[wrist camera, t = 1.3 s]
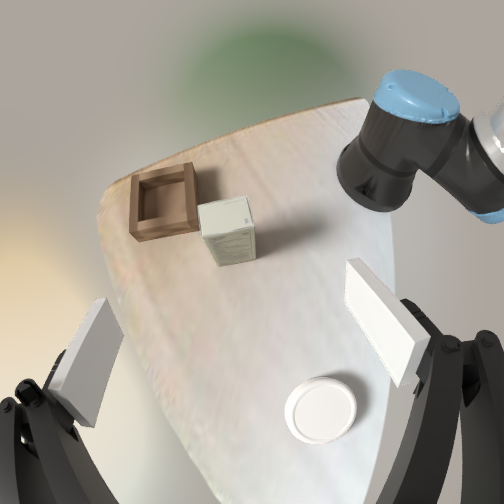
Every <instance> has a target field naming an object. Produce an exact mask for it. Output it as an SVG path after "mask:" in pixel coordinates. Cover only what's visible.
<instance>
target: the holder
mask: <svg viewBox="0 0 504 504" xmlns="http://www.w3.org/2000/svg"><path fill="white" fill-rule="evenodd" d="M198 205H199V199H198V189H197V178H196V173H195V170H194V167H193V163H192V162H190V163H185V164H180V165H175V166H171V167H166V168H162V169H157V170H153V171H149V172H145V173H141V174H137V175H133V176H132V178H131V193H130V216H129V233H130V234H131V235H132V236H133V237H134V238H135V239H136V240H137V241H138V242H142V241H147V240H152V239H157V238H162V237H167V236H173V235H178V234H183V233H189V232H194V231H200V226H199V218H198Z"/></svg>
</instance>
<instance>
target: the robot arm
mask: <svg viewBox="0 0 504 504" xmlns="http://www.w3.org/2000/svg"><path fill="white" fill-rule="evenodd" d="M459 109H460V106H459V103H458V101H457V99H456V97H455V96H454V95H453V94H452V93H451V92H449V91H448V89H447V88H446V87H445V86H444V85H442V84H441V83H439V82H437V81H436V80H434V79H432V78H430V77H428V76H426V75H423V74H421V73H418V72H415V71H410V70H393V71H390V72H388V73H386V74H385V75H384V77H383V78H382V80H381V82H380V84H379V86H378V88H377V90H376V91H375V92H374V95H373V101H372V103H371V106H370V109H369V111H368V114H367V116H366V119H365V121H364V124H363V126H362V129H361V131H360V133H359V135H358V136H357V137H356V138H355V139H354V140H353V141H352V142H351V143H350V144H348V145H347V146H346V147H345V148H344V149H343V151H342V152H341V154H340V157H339V159H338V162H337V168H336V169H337V176H338V179H339V182H340V184H341V186H342V187H343V189H344V190H345V192H346V193H347V194H348V195H349V196H350V197H351V198H352V199H353V200H354V201H356V202H357V203H358V204H360V205H362V206H363V207H366V208H368V209H370V210H373V211H378V212H390V211H393V210H396V209H398V208H399V207H401V206H402V205H403V203H404V202H405V201H406V200H407V199H408V197H409V195H410V193H411V190H412V183H413V180H414V178H415V174H416V172H417V170H418V169H421V170H422V171H423V172H424V173H426V174H427V175H428V176H430V177H431V178H432V179H433V180H435V181H436V182H437V183H438V184H440V185H441V186H442V187H443V188H444V189H445V190H446V191H448V192H449V193H450V194H451V195H452V196H453V197H454V198H456V199H457V200H458V201H459V202H460V203H461V204H462V205H463V206H464V207H465V208H466V209H467V210H468V211H469V212H470V213H472V214H474V215H475V216H476V217H477V218H479V219H480V220H481V221H483V222H485V223H488V224H496V223H499V222H502V221H504V96H503V98H502V99H501V101H500V102H499V103H498V105H497V106H496V108H495V109H494V110H493V111H492V113H486V112H479V113H477V114H476V115H475V117H474V118H473V119H472V120H471V121H469V120H468V119H467V118H466V117H464V116H463V115H462V114H460V113H459V112H460V110H459ZM344 303H345V304H346V306H347V307H348V309H349V310H350V312H351V314H352V315H353V317H354V318H355V320H356V321H357V323H358V324H359V326H360V327H361V329H362V331H363V332H364V334H365V335H366V337H367V338H368V340H369V342H370V343H371V345H372V346H373V348H374V350H375V351H376V353H377V355H378V356H379V358H380V359H381V361H382V363H383V364H384V366H385V368H386V369H387V371H388V373H389V374H390V376H391V378H392V379H393V381H394V383H395V384H396V386H397V388H399V387H402V386H404V385H406V384H409V383H411V382H412V381H413V379H414V377H415V374H417V375H418V377H419V378H420V380H419V383H418V384H417V386H416V389H415V390H414V392H413V394H415V393H416V395H415V398H414V402H413V406H412V410H411V413H410V417H409V420H408V424H407V427H406V430H405V434H404V436H403V439H402V442H401V446H400V448H399V451H398V454H397V457H396V459H395V462H394V464H393V467H392V470H391V472H390V474H389V476H388V479H387V481H386V483H385V485H384V488H383V490H382V492H381V494H380V496H379V498H378V500H377V502H376V504H437V501H438V498H439V496H440V493H441V490H442V486H443V484H444V480H445V477H446V474H447V470H448V466H449V462H450V458H451V454H452V449H453V445H454V440H455V435H456V429H457V423H458V417H459V410H460V420H461V433H462V454H463V455H462V459H463V464H462V466H463V467H462V470H463V471H462V492H461V504H504V351H503V349H502V346H501V343H500V341H499V339H498V337H497V335H495V334H494V333H493V332H491V331H488V330H482V331H479V332H478V333H477V335H476V337H475V339H474V340H472V341H464V342H461V341H460V340H459V339H458V338H456V337H454V336H451V335H443V334H442V333H441V332H440V331H439V329H438V328H437V327H436V326H435V325H434V324H433V323H432V322H431V321H430V320H429V318H428V317H426V315H425V314H424V313H423V312H422V311H421V310H420V308H418V306H417V305H416V304H415V303H413V302H411V301H409V300H408V299H403V300H399V299H398V298H397V297H396V296H395V295H394V294H393V293H392V292H391V291H390V290H389V289H388V287H387V286H386V285H385V284H384V283H383V282H382V281H381V280H380V279H379V278H378V277H377V276H376V275H375V274H374V273H373V272H372V271H371V270H370V269H369V267H368V266H367V265H366V264H365V263H364V262H363V261H362V260H361V259H360V258H357V259H351V260H347V263H346V283H345V298H344ZM123 337H124V334H123V333H122V330H121V328H120V326H119V324H118V322H117V320H116V318H115V315H114V313H113V311H112V309H111V306H110V304H109V302H108V300H107V298H99V299H95V301H94V302H93V304H92V306H91V307H90V309H89V311H88V313H87V314H86V316H85V318H84V319H83V321H82V323H81V325H80V326H79V328H78V330H77V332H76V333H75V335H74V337H73V339H72V341H71V342H70V344H69V346H68V348H67V349H65V350H64V351H63V352H62V353H61V354H60V355H59V356H58V358H57V360H56V362H55V365H54V366H53V368H52V371H51V372H50V374H49V376H48V378H47V380H46V382H45V384H44V386H43V388H42V390H41V389H40V387H39V386H38V385H37V384H36V383H35V381H34V380H32V379H25V380H23V381H22V382H20V383H19V385H18V386H17V387H16V390H15V396H16V397H17V398H18V399H19V400H20V402H21V404H18V403H17V402H16V401H15V400H14V399H13V398H12V397H7V398H5V399H3V400H2V401H1V403H0V504H119V503H118V501H117V500H116V499H115V497H114V496H113V494H112V493H111V491H110V490H109V488H108V486H107V485H106V483H105V481H104V480H103V478H102V477H101V475H100V473H99V471H98V470H97V468H96V466H95V464H94V463H93V461H92V459H91V457H90V455H89V453H88V451H87V449H86V447H85V446H84V443H83V441H82V439H81V437H80V435H79V433H78V430H77V429H76V427H75V426H74V425H73V423H74V420H76V421H77V422H78V423H79V424H80V425H81V426H85V427H92V428H94V427H95V423H96V420H97V416H98V412H99V409H100V406H101V402H102V399H103V396H104V392H105V389H106V386H107V383H108V380H109V377H110V374H111V370H112V368H113V365H114V362H115V359H116V356H117V353H118V350H119V348H120V345H121V342H122V340H123ZM21 437H23V438H24V439H25V443H22V442H21Z"/></svg>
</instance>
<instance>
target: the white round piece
mask: <svg viewBox="0 0 504 504" xmlns="http://www.w3.org/2000/svg"><path fill="white" fill-rule="evenodd" d="M356 414H357V401H356V397H355V395H354V393H353V391H352V390H351V389H350V388H349V387H348V386H347V385H346V384H344V383H343V382H341V381H338V380H335V379H333V378H329V377H317V378H313V379H310V380H307V381H305V382H303V383H302V384H300V385H299V386H298V387H297V388H296V389H295V390H294V391H293V392H292V393H291V395H290V396H289V398H288V400H287V403H286V406H285V419H286V422H287V424H288V427H289V429H290V430H291V432H292V433H293V434H294V436H296V437H297V438H298V439H300V440H301V441H303V442H306V443H309V444H315V445H320V444H327V443H330V442H333V441H335V440H337V439H339V438H340V437H342V436H343V435H344V434H345V433H346V432H347V431H348V430H349V429H350V427H351V426H352V424H353V423H354V420H355V418H356Z"/></svg>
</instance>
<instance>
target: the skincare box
mask: <svg viewBox="0 0 504 504" xmlns="http://www.w3.org/2000/svg"><path fill="white" fill-rule="evenodd" d="M198 218H199V226H200V233H201V237H202V239H203V241H204V243H205V244H206V246H207V248H208V250H209V252H210V254H211V256H212V258H213V259H214V261H215V263H216V265H217V266H218V267H219V266H225V265H230V264H236V263H241V262H246V261H250V260H255V259H256V247H255V226H254V221H253V216H252V212H251V208H250V204H249V200H248V197H247V196H246V195H245V196H239V197H233V198H228V199H223V200H218V201H214V202H210V203H205V204H201V205H198Z"/></svg>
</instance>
